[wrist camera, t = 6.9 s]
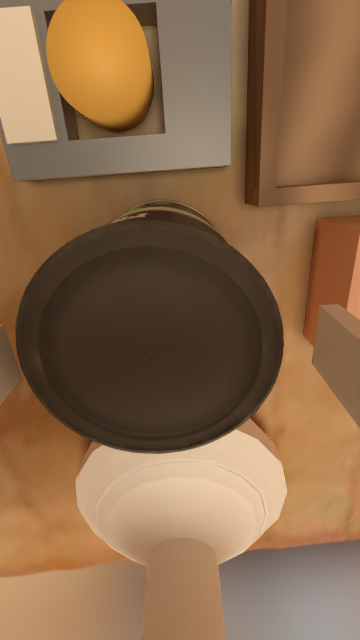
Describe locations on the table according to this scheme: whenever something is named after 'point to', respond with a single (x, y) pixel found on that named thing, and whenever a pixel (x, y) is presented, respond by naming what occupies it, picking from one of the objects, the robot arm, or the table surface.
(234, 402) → the coffee can
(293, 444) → the table surface
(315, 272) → the terracotta square planter
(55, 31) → the button
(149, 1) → the base
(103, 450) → the candle holder
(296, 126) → the dark wooden tray
